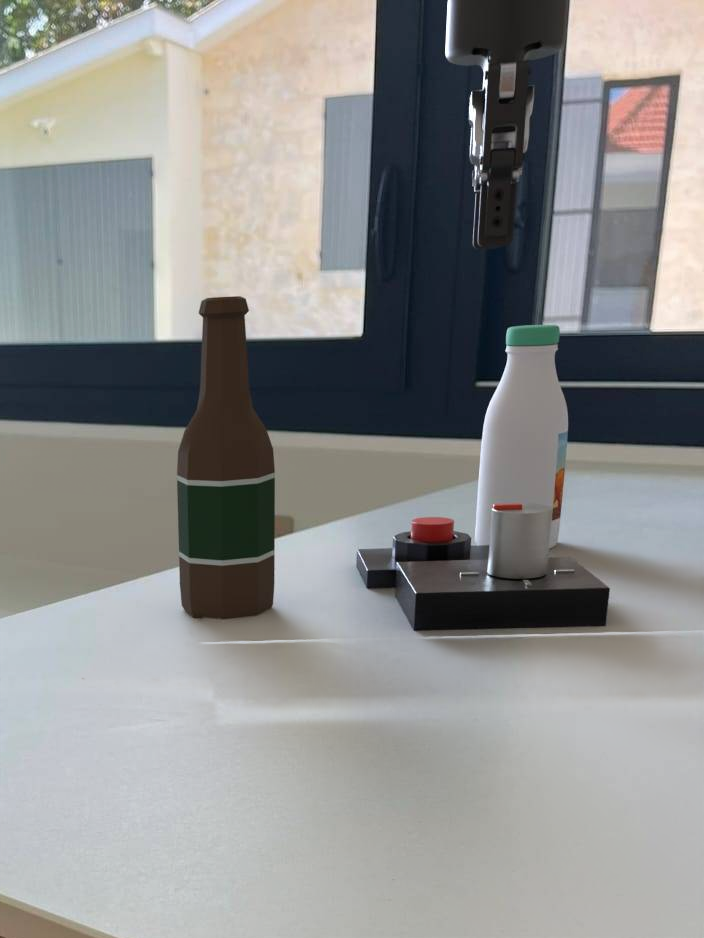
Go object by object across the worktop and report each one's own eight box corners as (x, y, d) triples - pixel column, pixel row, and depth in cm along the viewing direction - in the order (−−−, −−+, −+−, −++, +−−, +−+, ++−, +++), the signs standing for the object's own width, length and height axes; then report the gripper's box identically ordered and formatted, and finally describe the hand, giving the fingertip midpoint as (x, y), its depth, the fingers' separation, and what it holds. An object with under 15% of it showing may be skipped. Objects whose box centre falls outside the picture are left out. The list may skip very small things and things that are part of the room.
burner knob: (539, 566, 97) (545, 498, 95) (552, 578, 93) (559, 508, 91) (482, 567, 97) (487, 500, 95) (493, 580, 93) (498, 509, 91)
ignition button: (449, 536, 109) (450, 516, 108) (456, 544, 106) (457, 523, 105) (408, 537, 109) (408, 517, 109) (413, 545, 106) (414, 525, 105)
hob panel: (567, 592, 101) (571, 554, 100) (605, 627, 91) (610, 585, 90) (394, 597, 102) (396, 559, 101) (413, 632, 92) (415, 590, 91)
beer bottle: (272, 621, 97) (273, 295, 88) (174, 621, 99) (165, 300, 89) (276, 597, 104) (277, 293, 95) (185, 598, 106) (178, 298, 96)
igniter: (488, 563, 112) (491, 525, 111) (509, 585, 104) (513, 544, 103) (356, 567, 114) (357, 529, 112) (366, 589, 105) (368, 549, 104)
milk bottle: (536, 557, 114) (556, 327, 106) (459, 549, 119) (474, 328, 111) (571, 542, 119) (592, 322, 111) (496, 535, 124) (512, 324, 116)
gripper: (584, -61, 72) (558, 243, 78) (559, -12, 84) (539, 246, 91) (451, -46, 73) (436, 250, 80) (446, 0, 86) (434, 252, 92)
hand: (491, 247), depth 85 cm, fingers open, 8 cm apart
